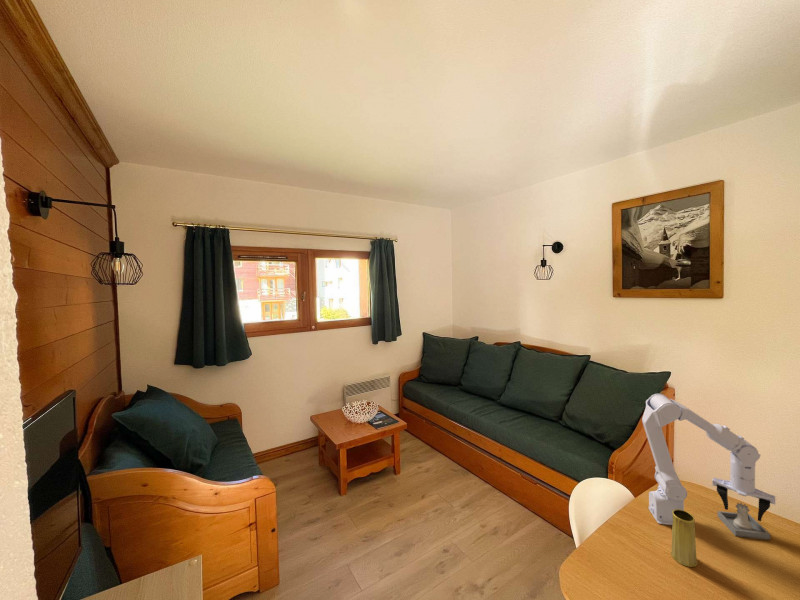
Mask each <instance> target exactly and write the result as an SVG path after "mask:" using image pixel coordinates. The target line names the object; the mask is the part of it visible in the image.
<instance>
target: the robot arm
mask: <svg viewBox="0 0 800 600" xmlns="http://www.w3.org/2000/svg"><path fill="white" fill-rule="evenodd" d="M677 420H678V421H684V420H686V421H688V422H690V423H691V424H693V425H695V426H696V427H697V428H699V429H701V430H703V431H704V432H705V433H706V436H707V438H708V439H710V440H712V441H713V442H715V443H717V445H719V446H721V447H722V448H724V449H725V450H728V451H730V455H729V457H730V460H729V461H730V463H729V464H730V466H729V467H730V471H729V472H730V476H729V479H730V480H727V479H726V480H725V479H720V478H716V477H712V483H711V486H713V487H716V492H717V494H718V495H719V497H720V498H721V501H722V503H723V506H724V510H725V511H728V509H729V497H728V495H729V494H728V491H733V492H736V493H737V495H738V496H739V495H740V496H742V497H747V496H748V497H751V498H755V499H758V512H757V522H761V521H762V518H763V516H764V514H765V513H766V512H767V511H768V510H769V509H770V508H771V505H775V506H776V495H773V494H770V493H767V492H764V491H763V490H761V489H759V488H756V464H757V461H759V459H760V458H761V454H760V453H759V450H758V448H757V447H755V446H754V445H752V443H750V442H749V441H747V440H746V439H745V438H744V437H743V436H742V435H738V434H736V433H734V432H733V431H730V430H731V428H730V427H728V426H727V425H725V424H724V425H721V424H719V423H711V422H709V421H707V419H706V418H705V419H704V418H703V417H701V416H700V415H699V414H698V413H696V412H694V411H693V410H691V409H690V408H688V407H687V406H686V405H684V404H681V402H678V401H676V400H675V399H673V398H668V397H667V396H666V395H665V394H662V393H654V394H652V395H651V396H650V397H648V399H646V400H645V409H644V412H643V415H642V418H641V423H642V426H643V428H644V431H645V435H646V439H647V442H648V444H649V446H650V447H649V448H650V450H651V454H652V458H653V460H654V464H655V466H654V469H655V473H654V480H655V481H656V482H657V483H658V486H657V490H652V491H651V490H650V491H649V492H648V507H647V508H648V510H649V512H650V513H651V515H652V516H653V519H655V521H656V522H657V523H658V524H661V525H670V526H673V513H672V511H673V510H675V509H680V510H684V511H685V501H684V500H685V499H686V498H687V497H688V491H687V489H686V488H685V487H684V485H682V483H681V479H680V478H679V475H678V474H677V472H676V470H675V467H674V464H673V461H672V457H671V454H670V451H669V447H668V445H667V444H668V443H667V441H666V438H665V435H664V432H663V427H665V426H666V425H669V424H670V423H674V422H675V421H677Z"/></svg>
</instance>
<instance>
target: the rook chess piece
mask: <svg viewBox="0 0 800 600" xmlns="http://www.w3.org/2000/svg"><path fill="white" fill-rule="evenodd" d="M735 508H736V513H737V517H736V518H735V519H734V522H733V524H734V526H735V527H736V528H737V529H739V530H748V531H752V526H751V524H750V522H749V520H748V515H749V512H750V511H751V510H750V509H749V506H748V505H746V504H744V503H742V502H737V503H736V505H735Z"/></svg>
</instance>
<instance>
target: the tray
mask: <svg viewBox="0 0 800 600" xmlns="http://www.w3.org/2000/svg"><path fill="white" fill-rule="evenodd" d="M748 514H749V513H748ZM717 517H718V518H719V520H720V521H721V522H722V523H723V524H724V526H726V528H728V530H729V531H730V532H731V533H732V534H733V535H734V536H735V537H738V538H739V537H741V538H742V537H743V538H749V539H755V540H757V539H758V540H765V541H771V534H770V532H769V531H767V529H766V528H764V527H763V525H761V523H759V521H758V520H756V519H755V518H754V517H753V516H752V515H751V514H749V515H748V520H749V522H750V524H751V526H752V531H748V530H739V529H737V528H736V527H735V526H734V524H733V522H734V519H735V518H736V517H737V512H731V511H721V510H717Z"/></svg>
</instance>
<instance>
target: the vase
mask: <svg viewBox="0 0 800 600" xmlns="http://www.w3.org/2000/svg"><path fill="white" fill-rule="evenodd" d="M672 513H673V525H671V526H672V527H671V528H672V529H671V530H672V531H671V553H670V555H671V557H672V558H673V560H675V561H676V562H677V563H679V564H681V565H683V566H685V567H689V568H690V567H691V568H694V567H696V566H697V565H698V561H697V544H696V527H695V523H696V521H695V520H696V519H695V517H694V516H693V514H692V513H690V512H689V511H686V510H685V509H684V510H680V509H675V510H673V511H672Z"/></svg>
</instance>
